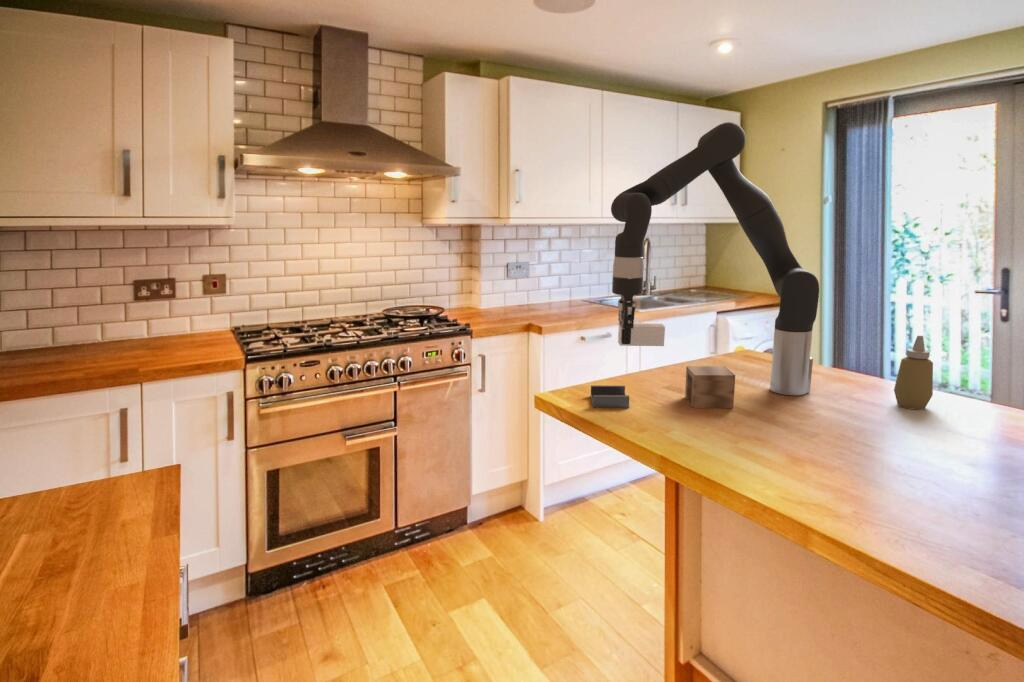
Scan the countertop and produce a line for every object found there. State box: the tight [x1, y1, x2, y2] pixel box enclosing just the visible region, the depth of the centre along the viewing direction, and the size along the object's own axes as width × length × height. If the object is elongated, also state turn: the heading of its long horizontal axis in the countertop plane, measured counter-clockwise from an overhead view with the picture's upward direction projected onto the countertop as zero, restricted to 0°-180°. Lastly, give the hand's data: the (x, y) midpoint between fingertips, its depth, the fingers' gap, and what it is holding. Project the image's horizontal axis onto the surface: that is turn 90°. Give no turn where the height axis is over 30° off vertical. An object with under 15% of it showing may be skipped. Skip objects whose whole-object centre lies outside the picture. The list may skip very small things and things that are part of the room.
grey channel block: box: [590, 384, 630, 409], centre depth 159 cm, size 9×10×3 cm
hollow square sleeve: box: [684, 365, 736, 409], centre depth 157 cm, size 10×9×8 cm
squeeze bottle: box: [893, 335, 934, 410], centre depth 150 cm, size 8×8×18 cm
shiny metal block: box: [617, 322, 666, 347], centre depth 155 cm, size 11×4×5 cm, turn 88°
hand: (624, 341), depth 156 cm, fingers closed on shiny metal block, 4 cm apart
